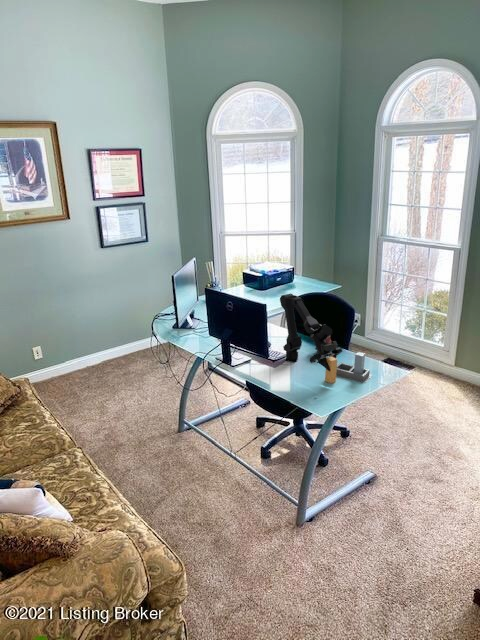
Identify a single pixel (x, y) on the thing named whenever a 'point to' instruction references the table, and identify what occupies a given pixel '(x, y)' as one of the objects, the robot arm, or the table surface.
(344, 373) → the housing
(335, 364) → the yellow upright block
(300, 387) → the table surface
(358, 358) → the grey rectangular block
